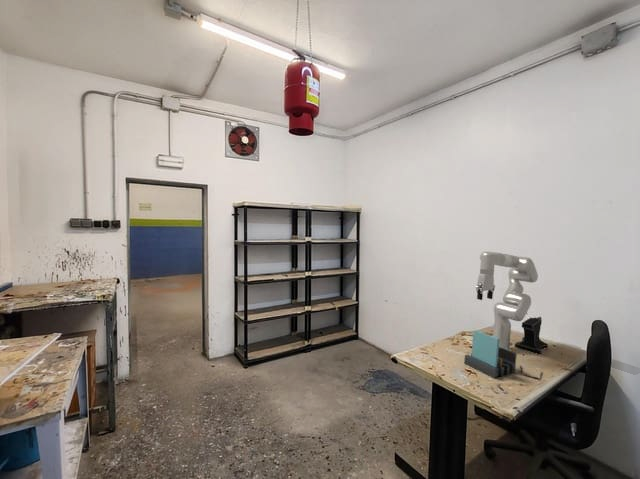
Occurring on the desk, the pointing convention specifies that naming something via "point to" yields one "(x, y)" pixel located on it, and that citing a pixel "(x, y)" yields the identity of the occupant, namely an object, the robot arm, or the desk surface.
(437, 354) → the desk surface
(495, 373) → the offcut rack
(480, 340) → the tall sheet
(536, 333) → the anvil
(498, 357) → the oak offcut
